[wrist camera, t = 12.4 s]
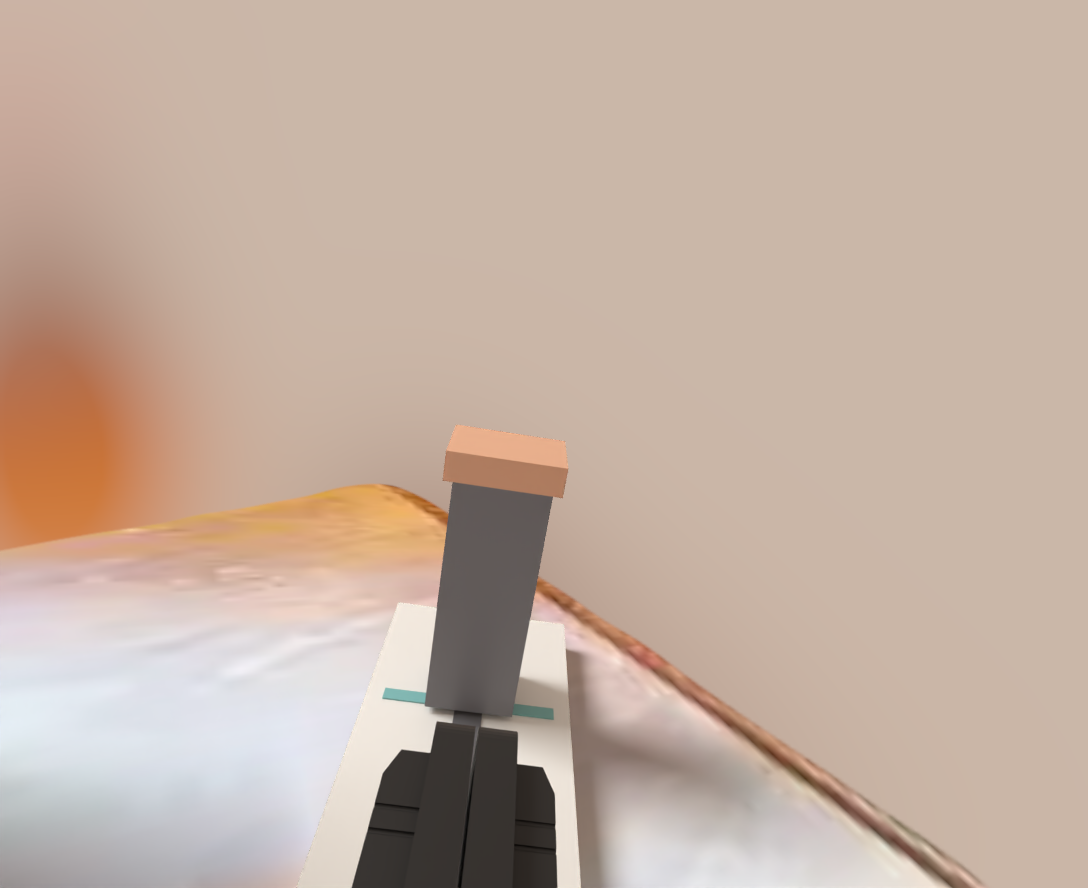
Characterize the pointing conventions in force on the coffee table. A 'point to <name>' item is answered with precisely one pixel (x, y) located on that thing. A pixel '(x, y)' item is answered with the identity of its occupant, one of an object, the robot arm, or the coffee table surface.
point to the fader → (490, 564)
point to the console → (407, 724)
